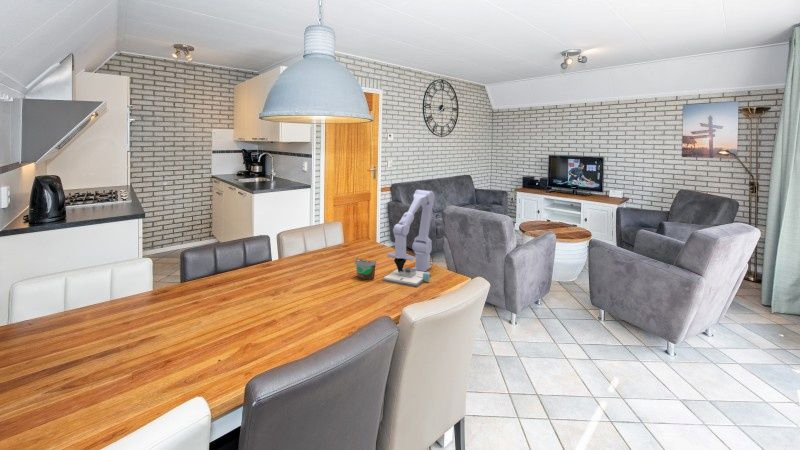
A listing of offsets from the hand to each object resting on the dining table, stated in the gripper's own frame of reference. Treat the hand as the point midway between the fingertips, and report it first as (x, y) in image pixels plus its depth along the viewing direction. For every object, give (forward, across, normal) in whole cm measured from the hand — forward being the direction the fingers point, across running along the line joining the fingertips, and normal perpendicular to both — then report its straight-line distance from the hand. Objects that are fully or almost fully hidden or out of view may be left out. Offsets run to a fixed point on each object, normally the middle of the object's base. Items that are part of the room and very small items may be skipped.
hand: (400, 272), depth 213 cm
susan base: (+3, +4, 0) cm, 5 cm away
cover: (+1, +4, 0) cm, 4 cm away
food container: (+3, -16, -11) cm, 20 cm away
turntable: (+2, +6, 0) cm, 6 cm away
